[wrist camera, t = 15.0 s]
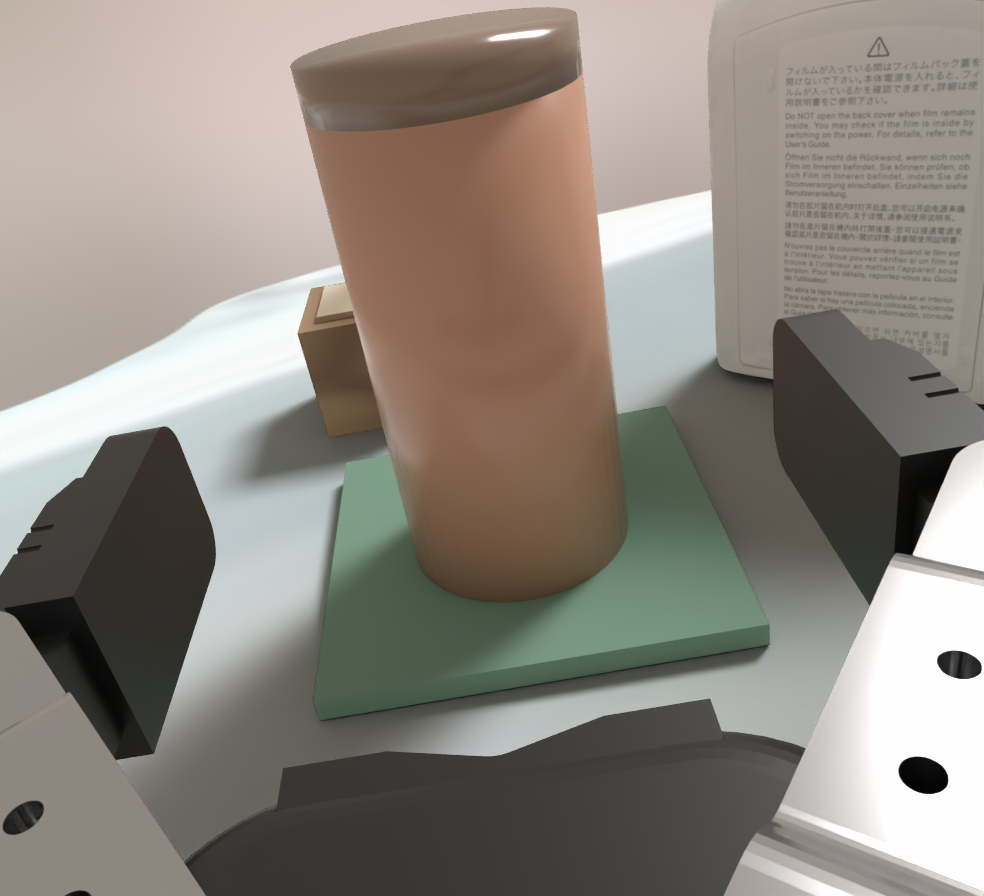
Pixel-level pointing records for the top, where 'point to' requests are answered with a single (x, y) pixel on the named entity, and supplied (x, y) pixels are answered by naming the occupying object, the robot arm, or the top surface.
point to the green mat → (539, 622)
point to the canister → (478, 289)
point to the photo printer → (849, 175)
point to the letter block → (337, 362)
